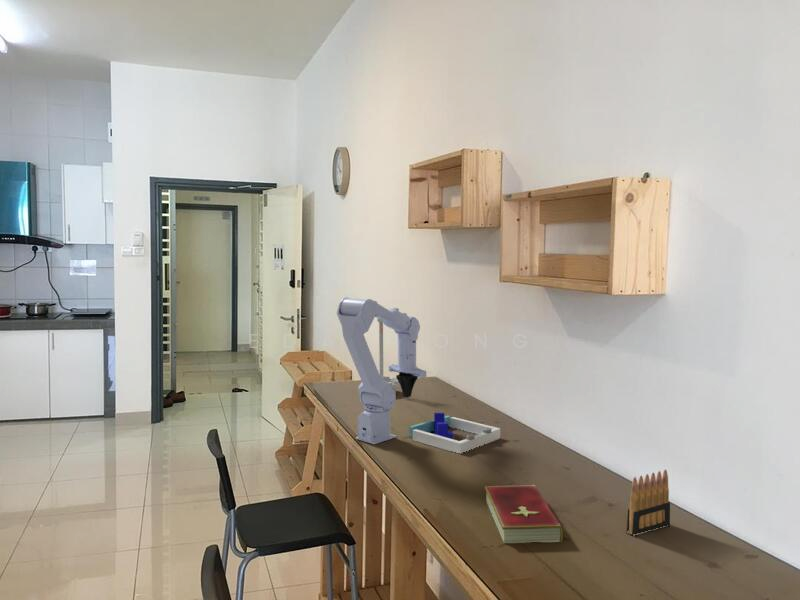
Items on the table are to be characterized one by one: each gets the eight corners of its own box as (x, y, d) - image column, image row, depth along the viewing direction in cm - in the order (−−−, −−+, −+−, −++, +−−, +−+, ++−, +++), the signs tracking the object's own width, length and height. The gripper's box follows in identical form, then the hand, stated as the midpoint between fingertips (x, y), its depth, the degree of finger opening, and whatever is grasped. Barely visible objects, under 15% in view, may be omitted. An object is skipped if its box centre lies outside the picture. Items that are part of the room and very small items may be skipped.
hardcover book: (536, 501, 150) (536, 483, 150) (562, 544, 130) (563, 524, 129) (484, 502, 150) (484, 485, 149) (502, 546, 129) (502, 526, 129)
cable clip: (452, 443, 191) (453, 423, 190) (437, 444, 191) (437, 424, 190) (448, 431, 203) (448, 412, 202) (434, 431, 202) (434, 412, 202)
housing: (461, 454, 181) (461, 441, 180) (412, 440, 194) (412, 427, 193) (501, 438, 195) (501, 426, 194) (453, 426, 207) (453, 414, 207)
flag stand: (363, 389, 256) (362, 313, 253) (396, 388, 257) (396, 313, 254) (365, 398, 243) (364, 318, 240) (400, 397, 244) (399, 317, 241)
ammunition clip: (633, 536, 132) (635, 479, 131) (626, 533, 133) (627, 476, 132) (670, 525, 137) (672, 470, 136) (662, 522, 138) (665, 467, 137)
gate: (412, 437, 195) (412, 427, 195) (409, 436, 196) (409, 426, 196) (450, 425, 207) (450, 416, 207) (447, 424, 208) (447, 415, 208)
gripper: (432, 355, 203) (432, 398, 205) (399, 349, 213) (399, 390, 215) (417, 358, 198) (417, 402, 200) (383, 352, 208) (384, 394, 210)
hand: (407, 396), depth 207 cm, fingers closed
